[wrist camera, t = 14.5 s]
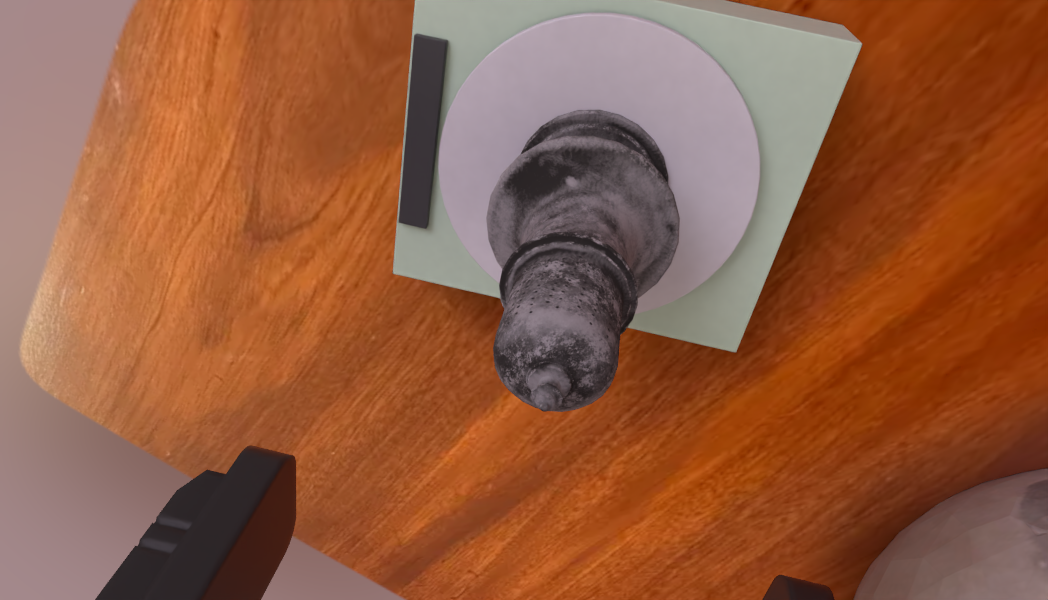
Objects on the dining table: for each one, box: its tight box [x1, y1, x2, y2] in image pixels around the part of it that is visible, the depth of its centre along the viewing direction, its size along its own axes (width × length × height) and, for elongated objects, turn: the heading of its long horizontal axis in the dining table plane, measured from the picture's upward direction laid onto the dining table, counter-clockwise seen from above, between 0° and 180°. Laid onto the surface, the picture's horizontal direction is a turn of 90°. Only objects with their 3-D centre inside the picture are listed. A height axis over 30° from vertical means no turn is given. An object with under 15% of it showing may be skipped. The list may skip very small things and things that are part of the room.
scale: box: [393, 0, 862, 352], centre depth 27 cm, size 14×12×4 cm
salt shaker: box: [486, 110, 680, 412], centre depth 20 cm, size 6×6×12 cm
